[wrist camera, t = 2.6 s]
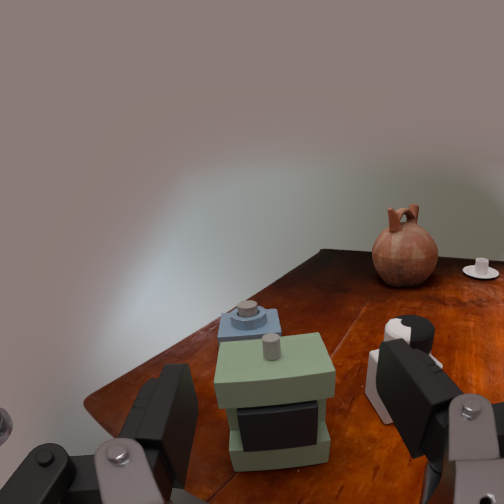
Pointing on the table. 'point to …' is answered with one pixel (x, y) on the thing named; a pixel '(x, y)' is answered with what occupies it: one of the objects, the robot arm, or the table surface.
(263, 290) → the table surface
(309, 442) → the paddle
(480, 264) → the candle holder
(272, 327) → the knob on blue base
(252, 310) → the short grey cylinder plug
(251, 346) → the green block with peg
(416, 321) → the medicine bottle
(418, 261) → the jug
